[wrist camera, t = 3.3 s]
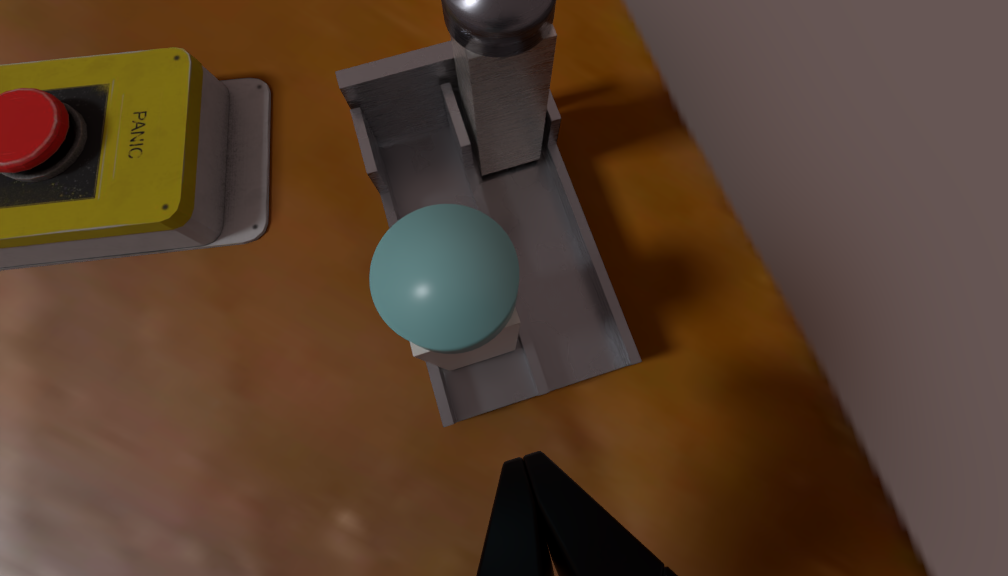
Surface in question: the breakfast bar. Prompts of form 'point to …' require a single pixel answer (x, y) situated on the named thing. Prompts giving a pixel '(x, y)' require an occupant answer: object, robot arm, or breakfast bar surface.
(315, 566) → the breakfast bar surface
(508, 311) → the plunger
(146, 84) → the emergency button
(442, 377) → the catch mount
